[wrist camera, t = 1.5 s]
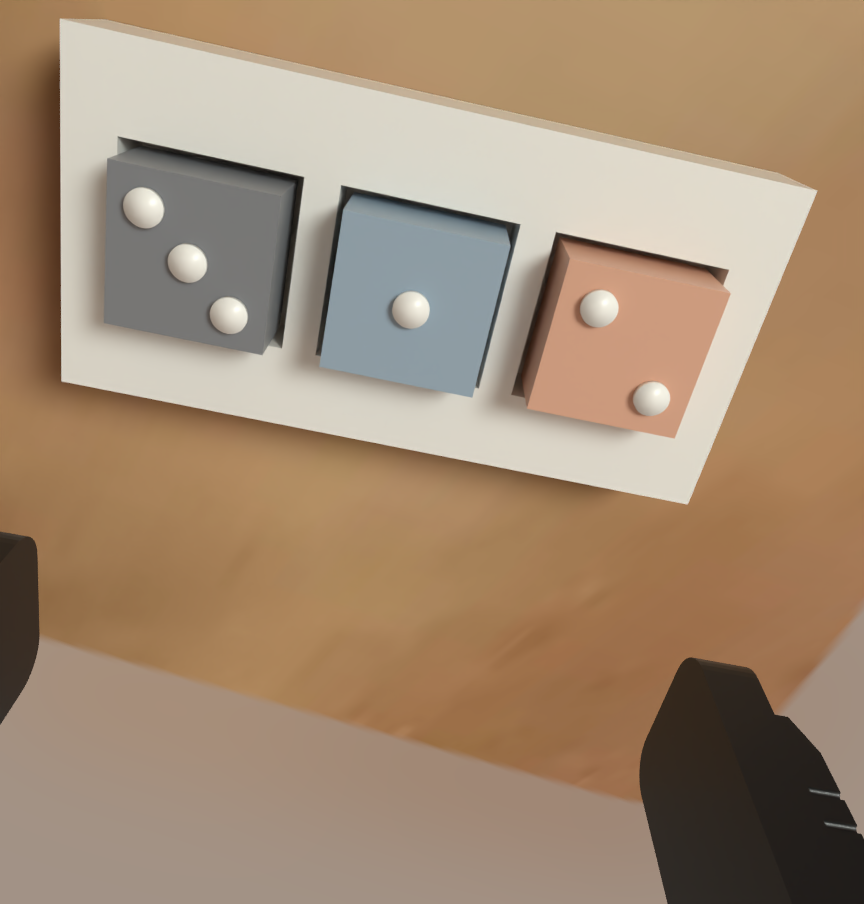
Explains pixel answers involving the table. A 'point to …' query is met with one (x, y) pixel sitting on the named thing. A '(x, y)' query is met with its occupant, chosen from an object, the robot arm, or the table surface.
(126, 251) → the three-dot button
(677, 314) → the two-dot button
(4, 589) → the robot arm
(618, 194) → the button panel
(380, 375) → the one-dot button
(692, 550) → the table surface
